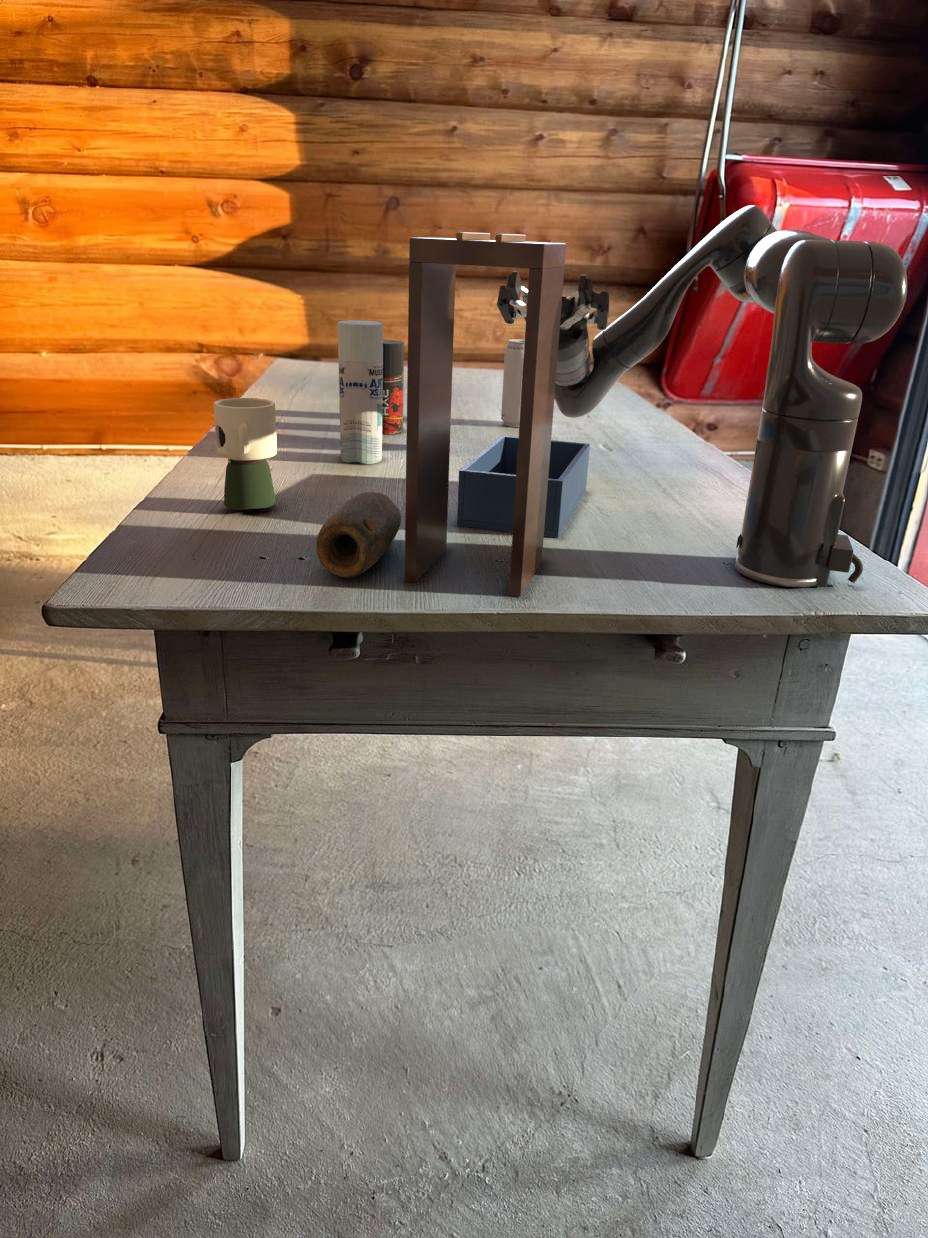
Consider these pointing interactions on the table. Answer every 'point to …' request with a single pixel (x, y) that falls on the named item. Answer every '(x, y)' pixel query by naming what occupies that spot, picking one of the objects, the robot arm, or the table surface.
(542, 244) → the stand
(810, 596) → the table surface
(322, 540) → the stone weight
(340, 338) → the spray paint can
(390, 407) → the deodorant
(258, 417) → the character mug
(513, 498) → the bin
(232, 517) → the table surface
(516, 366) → the energy drink can
